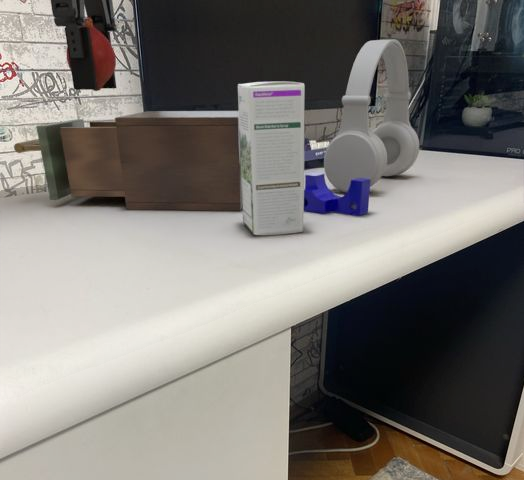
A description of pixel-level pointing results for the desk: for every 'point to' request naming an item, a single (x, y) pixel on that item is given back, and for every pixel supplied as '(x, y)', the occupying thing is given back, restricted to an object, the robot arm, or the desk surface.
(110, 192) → the drawer
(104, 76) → the onion
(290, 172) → the syrup box
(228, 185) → the cabinet
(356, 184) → the cable holder
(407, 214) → the desk surface
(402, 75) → the headphones
